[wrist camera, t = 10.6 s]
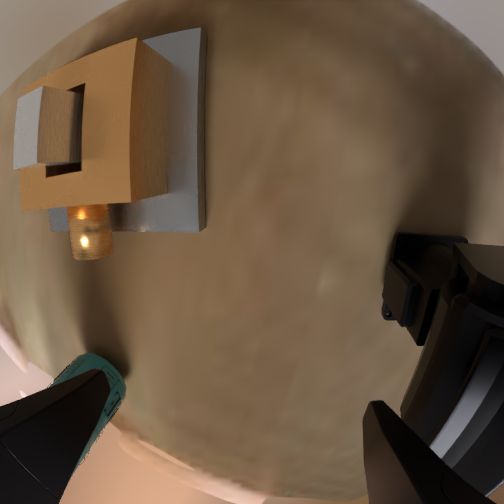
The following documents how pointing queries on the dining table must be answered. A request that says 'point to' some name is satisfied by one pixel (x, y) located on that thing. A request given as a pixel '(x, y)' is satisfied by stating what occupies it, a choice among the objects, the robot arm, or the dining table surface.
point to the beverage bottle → (116, 393)
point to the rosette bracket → (129, 144)
